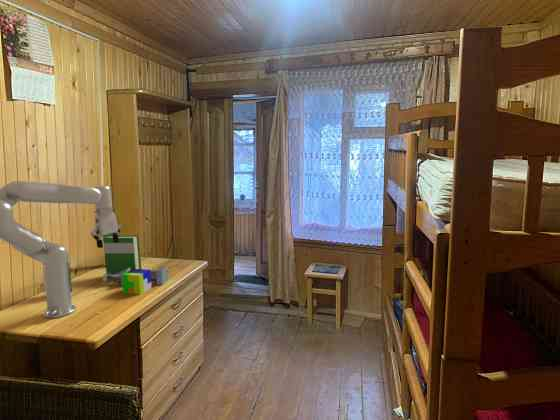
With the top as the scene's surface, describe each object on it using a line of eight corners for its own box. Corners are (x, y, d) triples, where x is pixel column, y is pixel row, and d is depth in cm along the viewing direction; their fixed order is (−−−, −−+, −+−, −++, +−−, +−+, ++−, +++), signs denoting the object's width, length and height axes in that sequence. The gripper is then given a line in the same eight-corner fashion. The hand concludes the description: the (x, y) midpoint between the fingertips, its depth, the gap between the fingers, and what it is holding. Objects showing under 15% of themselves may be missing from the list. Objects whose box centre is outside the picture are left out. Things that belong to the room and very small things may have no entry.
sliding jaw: (125, 285, 207) (124, 271, 206) (102, 286, 206) (101, 272, 205) (131, 280, 216) (130, 266, 215) (109, 281, 215) (108, 267, 214)
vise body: (162, 284, 207) (161, 270, 206) (106, 286, 207) (105, 272, 205) (168, 278, 219) (167, 264, 218) (115, 280, 218) (114, 266, 217)
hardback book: (141, 274, 227) (138, 235, 223) (136, 278, 219) (132, 237, 216) (113, 274, 228) (110, 235, 225) (106, 278, 221) (103, 237, 218)
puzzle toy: (151, 287, 203) (150, 269, 202) (140, 294, 194) (138, 275, 192) (135, 286, 206) (133, 268, 204) (123, 293, 196) (121, 274, 195)
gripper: (94, 214, 177) (99, 250, 180) (123, 208, 193) (127, 241, 196) (83, 214, 181) (87, 249, 183) (112, 208, 196) (116, 240, 199)
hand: (108, 245), depth 189 cm, fingers open, 9 cm apart
